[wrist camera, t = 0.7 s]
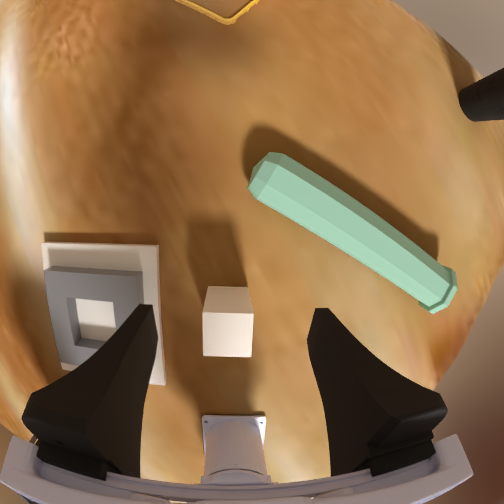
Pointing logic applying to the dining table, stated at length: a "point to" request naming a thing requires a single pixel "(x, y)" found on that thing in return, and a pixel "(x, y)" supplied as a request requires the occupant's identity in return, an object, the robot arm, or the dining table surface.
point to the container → (351, 228)
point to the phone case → (214, 16)
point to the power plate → (102, 309)
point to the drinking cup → (484, 98)
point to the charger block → (227, 322)
